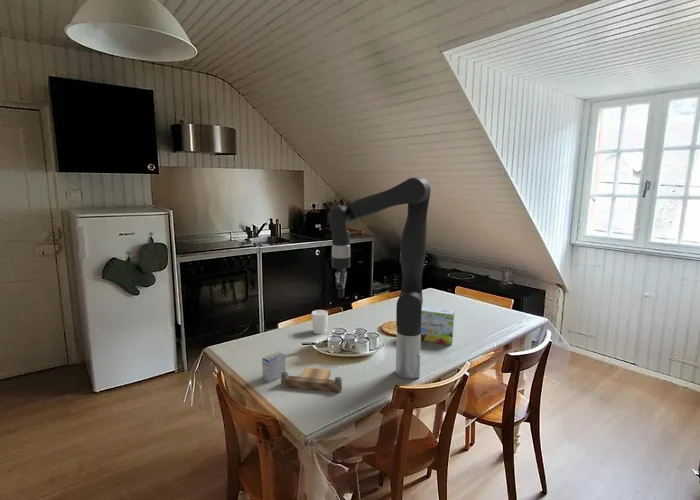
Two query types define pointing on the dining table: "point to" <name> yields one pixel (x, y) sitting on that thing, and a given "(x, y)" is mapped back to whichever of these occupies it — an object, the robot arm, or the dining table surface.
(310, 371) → the light wooden block
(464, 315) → the dining table surface
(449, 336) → the snack box
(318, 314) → the white cup
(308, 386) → the bar
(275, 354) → the medicine box
